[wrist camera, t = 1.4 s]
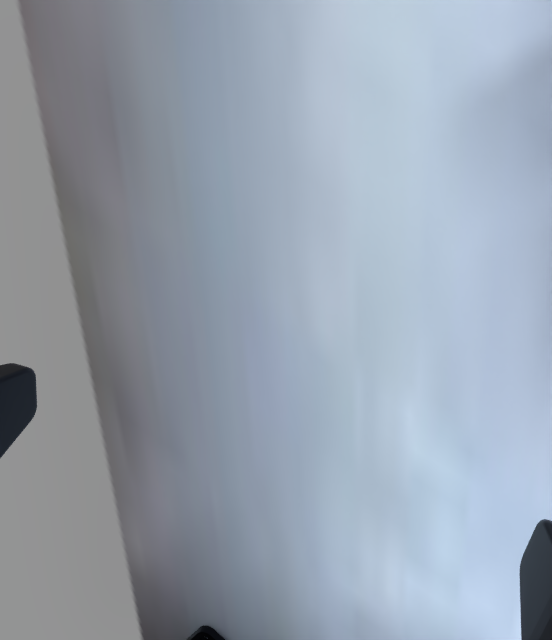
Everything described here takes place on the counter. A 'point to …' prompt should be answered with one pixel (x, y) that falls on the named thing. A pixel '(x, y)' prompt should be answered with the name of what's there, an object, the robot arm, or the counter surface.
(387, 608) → the counter surface
